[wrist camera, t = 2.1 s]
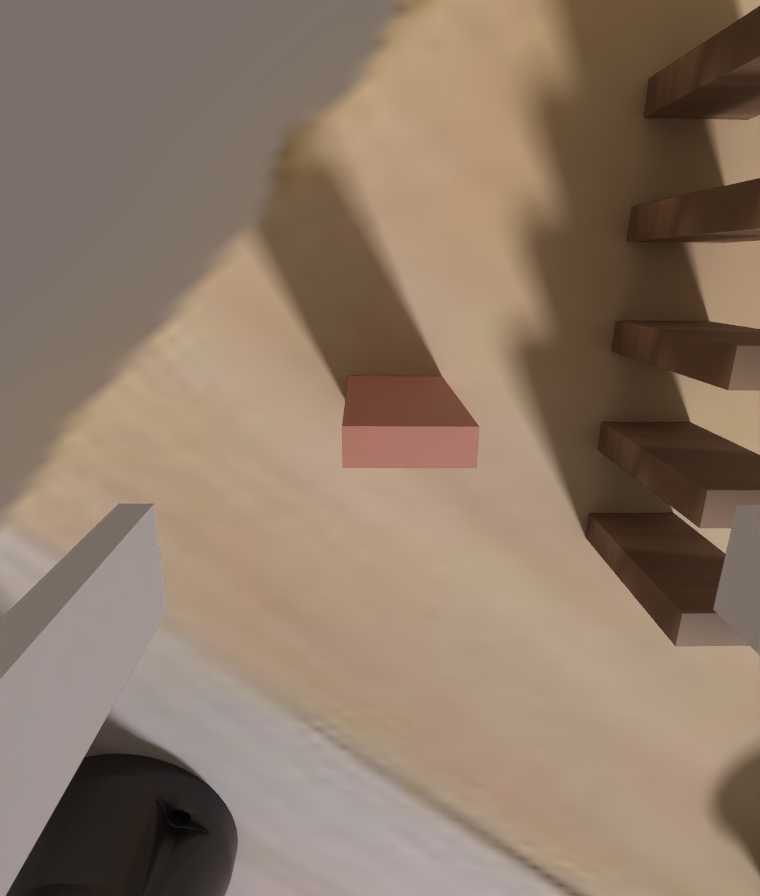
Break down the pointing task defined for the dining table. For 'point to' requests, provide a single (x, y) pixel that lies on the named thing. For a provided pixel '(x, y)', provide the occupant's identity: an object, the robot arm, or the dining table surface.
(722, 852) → the dining table surface
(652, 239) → the domino
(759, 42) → the domino
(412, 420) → the domino
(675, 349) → the domino
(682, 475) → the domino
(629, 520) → the domino
